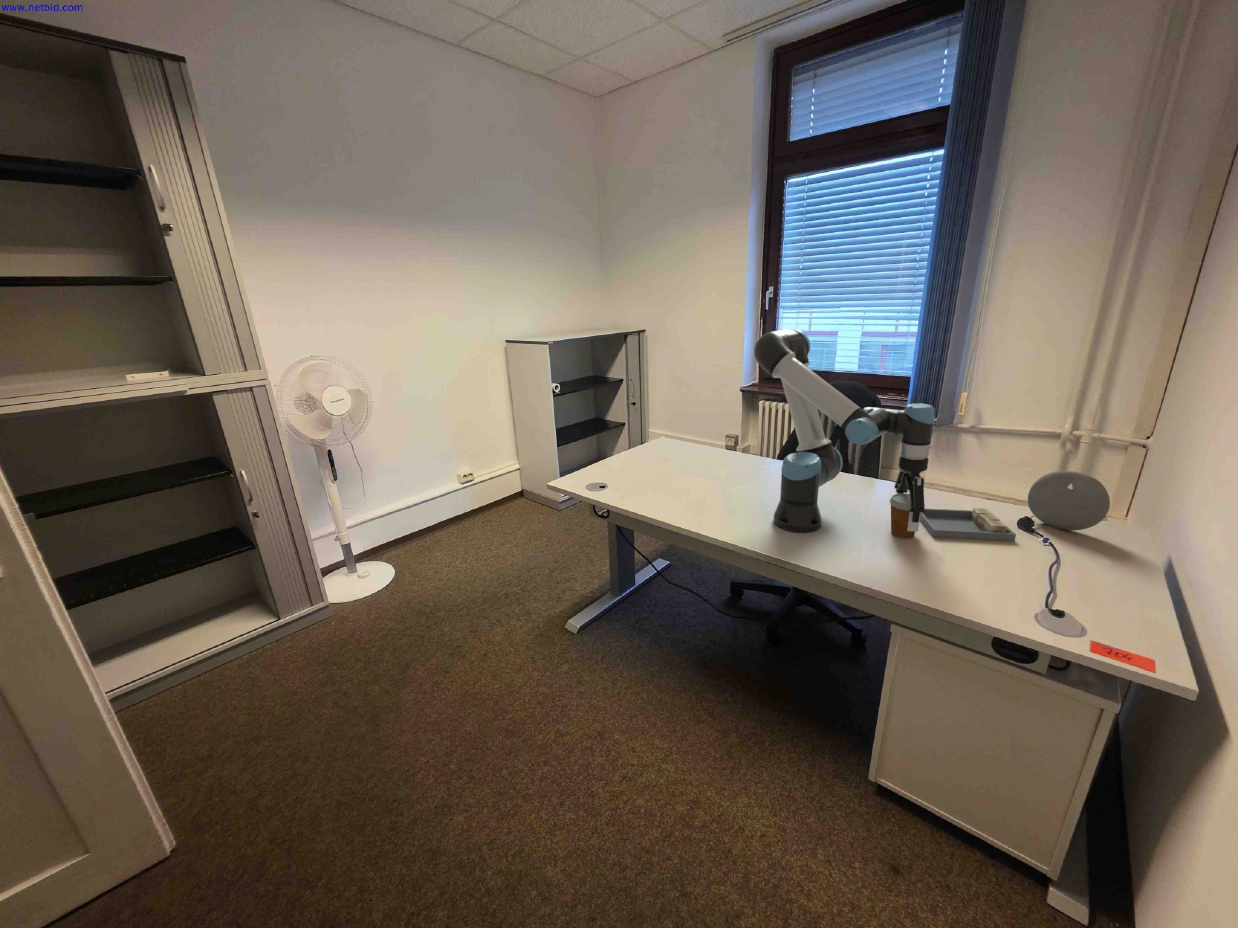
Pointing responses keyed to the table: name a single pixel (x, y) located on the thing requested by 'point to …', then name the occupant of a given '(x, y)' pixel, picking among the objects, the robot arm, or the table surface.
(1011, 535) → the tray
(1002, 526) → the block
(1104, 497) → the dark grey disc
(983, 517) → the block
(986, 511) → the block
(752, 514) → the table surface
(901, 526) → the disposable coffee cup
